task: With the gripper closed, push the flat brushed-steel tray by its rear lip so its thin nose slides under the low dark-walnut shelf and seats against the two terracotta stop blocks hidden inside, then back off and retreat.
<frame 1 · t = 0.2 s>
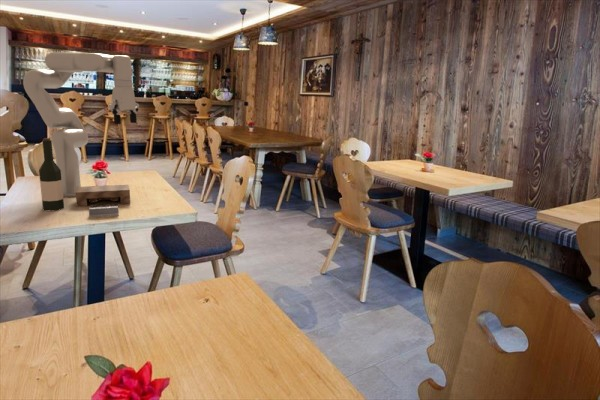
hand: (125, 123, 200), 36 cm above the table, tool pointing down, fingers open, 9 cm apart
shelf: (104, 202, 203), on the table
tray: (104, 212, 188), on the table
wine bottle: (53, 208, 189), on the table
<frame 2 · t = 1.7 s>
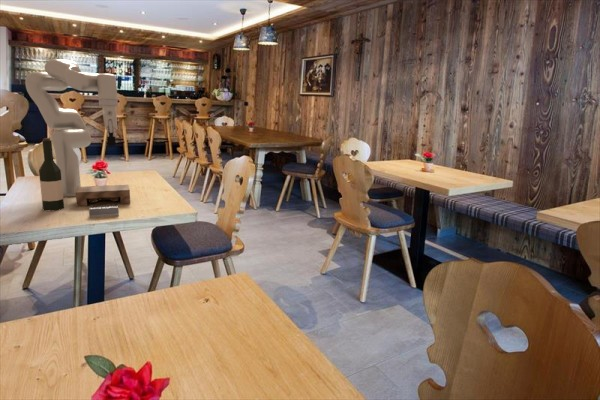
hand: (111, 145, 195), 26 cm above the table, tool pointing down, fingers closed
nothing on the table moved.
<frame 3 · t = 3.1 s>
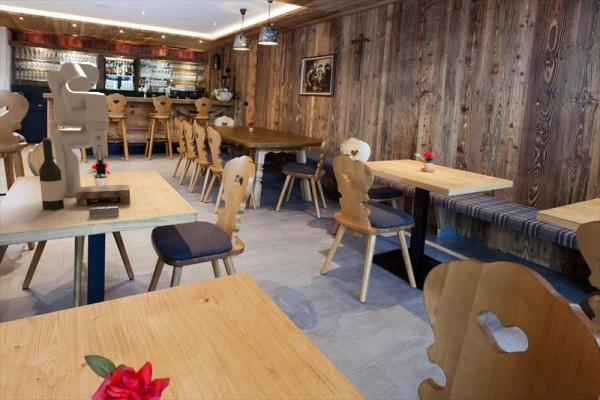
hand: (101, 173, 171), 19 cm above the table, tool pointing down, fingers closed
nothing on the table moved.
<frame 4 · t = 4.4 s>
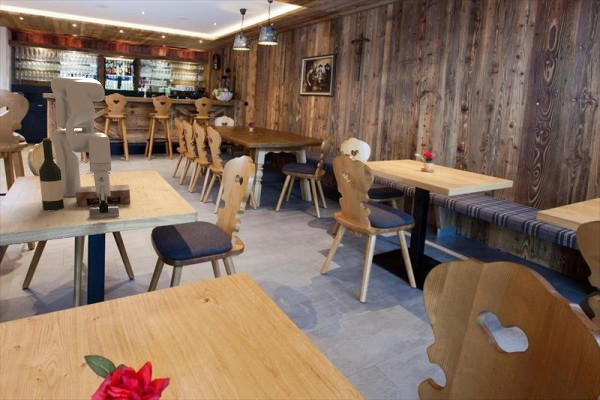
hand: (104, 212, 175), 3 cm above the table, tool pointing down, fingers closed
nothing on the table moved.
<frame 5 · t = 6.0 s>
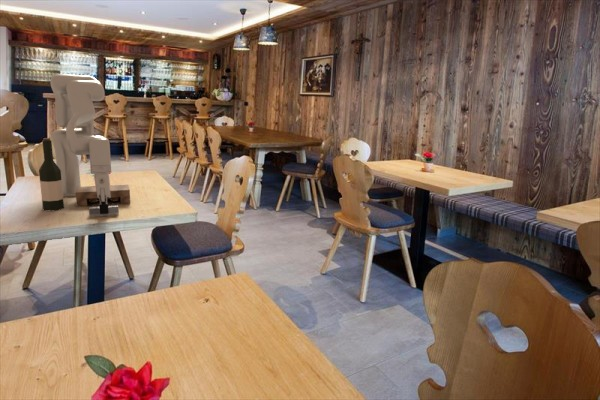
hand: (104, 213, 179), 2 cm above the table, tool pointing down, fingers closed
tray: (104, 212, 188), on the table
everything else where it was.
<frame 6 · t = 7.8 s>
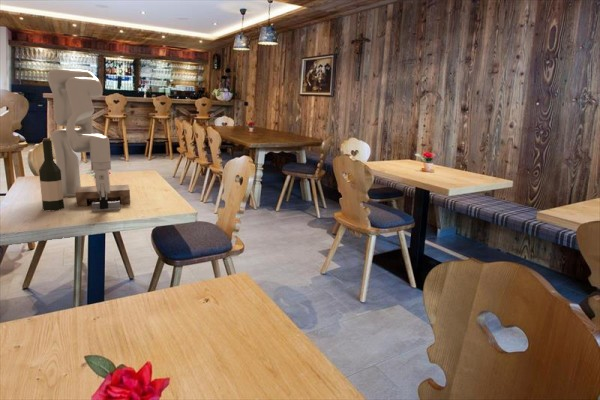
hand: (104, 208, 187), 1 cm above the table, tool pointing down, fingers closed
tray: (106, 207, 197), on the table
everything else where it was.
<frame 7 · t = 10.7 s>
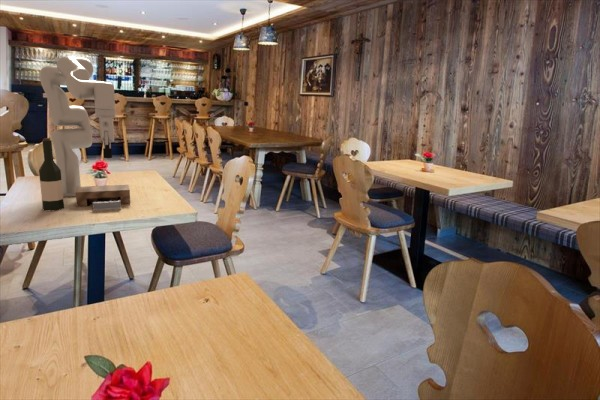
hand: (107, 157, 184), 23 cm above the table, tool pointing down, fingers closed
nothing on the table moved.
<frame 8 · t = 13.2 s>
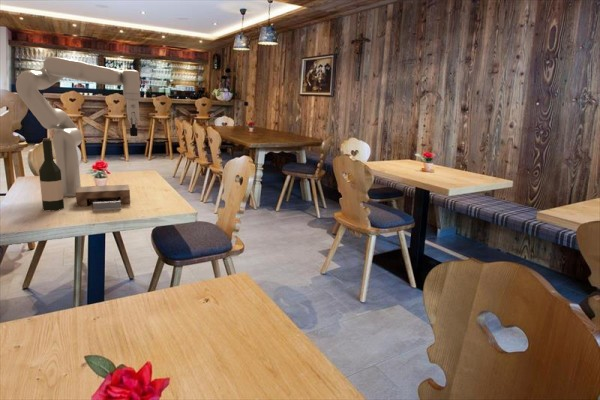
hand: (133, 136, 212), 29 cm above the table, tool pointing down, fingers closed
nothing on the table moved.
at the end: tray 1.3 cm from the target spot on the table beside the shelf, on the table; tray tilted 0°; tray moved 9.5 cm from its start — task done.
